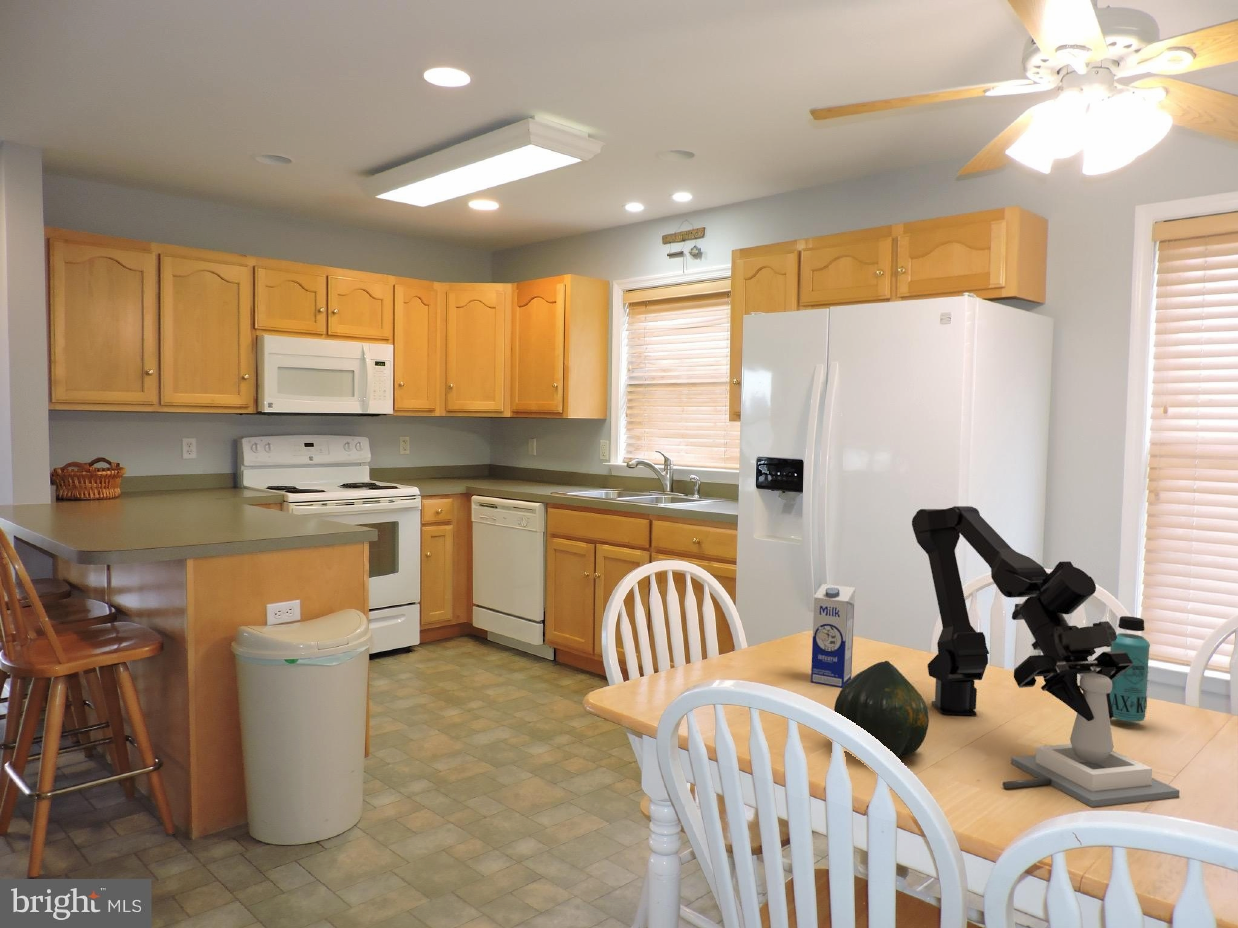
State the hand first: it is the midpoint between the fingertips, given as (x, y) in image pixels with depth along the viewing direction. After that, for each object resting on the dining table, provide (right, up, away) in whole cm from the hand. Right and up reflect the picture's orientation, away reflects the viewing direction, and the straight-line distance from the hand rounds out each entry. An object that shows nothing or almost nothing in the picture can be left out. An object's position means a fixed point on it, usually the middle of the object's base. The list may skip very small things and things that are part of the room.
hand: (1101, 719), depth 129 cm
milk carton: (-29, -7, +49) cm, 58 cm away
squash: (-30, -9, +12) cm, 34 cm away
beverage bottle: (+20, -10, +28) cm, 36 cm away
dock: (-4, -10, 0) cm, 11 cm away
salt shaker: (-1, -7, +2) cm, 7 cm away
